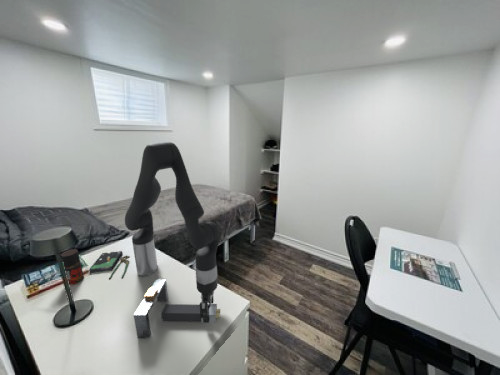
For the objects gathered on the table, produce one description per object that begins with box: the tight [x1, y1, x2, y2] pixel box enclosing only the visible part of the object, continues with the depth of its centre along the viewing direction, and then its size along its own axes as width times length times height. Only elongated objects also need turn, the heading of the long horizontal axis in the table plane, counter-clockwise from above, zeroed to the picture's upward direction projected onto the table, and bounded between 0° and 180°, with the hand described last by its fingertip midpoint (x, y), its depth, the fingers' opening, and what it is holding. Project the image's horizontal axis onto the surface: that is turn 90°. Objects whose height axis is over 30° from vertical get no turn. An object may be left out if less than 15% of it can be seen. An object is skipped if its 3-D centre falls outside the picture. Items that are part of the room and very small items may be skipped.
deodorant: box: [60, 248, 85, 286], centre depth 95 cm, size 6×6×15 cm
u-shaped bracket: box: [133, 278, 169, 339], centre depth 77 cm, size 17×4×12 cm, turn 0°
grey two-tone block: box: [160, 303, 221, 324], centre depth 78 cm, size 5×22×4 cm, turn 90°
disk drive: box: [88, 250, 124, 274], centre depth 110 cm, size 10×3×15 cm
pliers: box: [108, 255, 130, 280], centre depth 107 cm, size 20×6×1 cm, turn 15°
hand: (208, 311), depth 78 cm, fingers open, 8 cm apart
